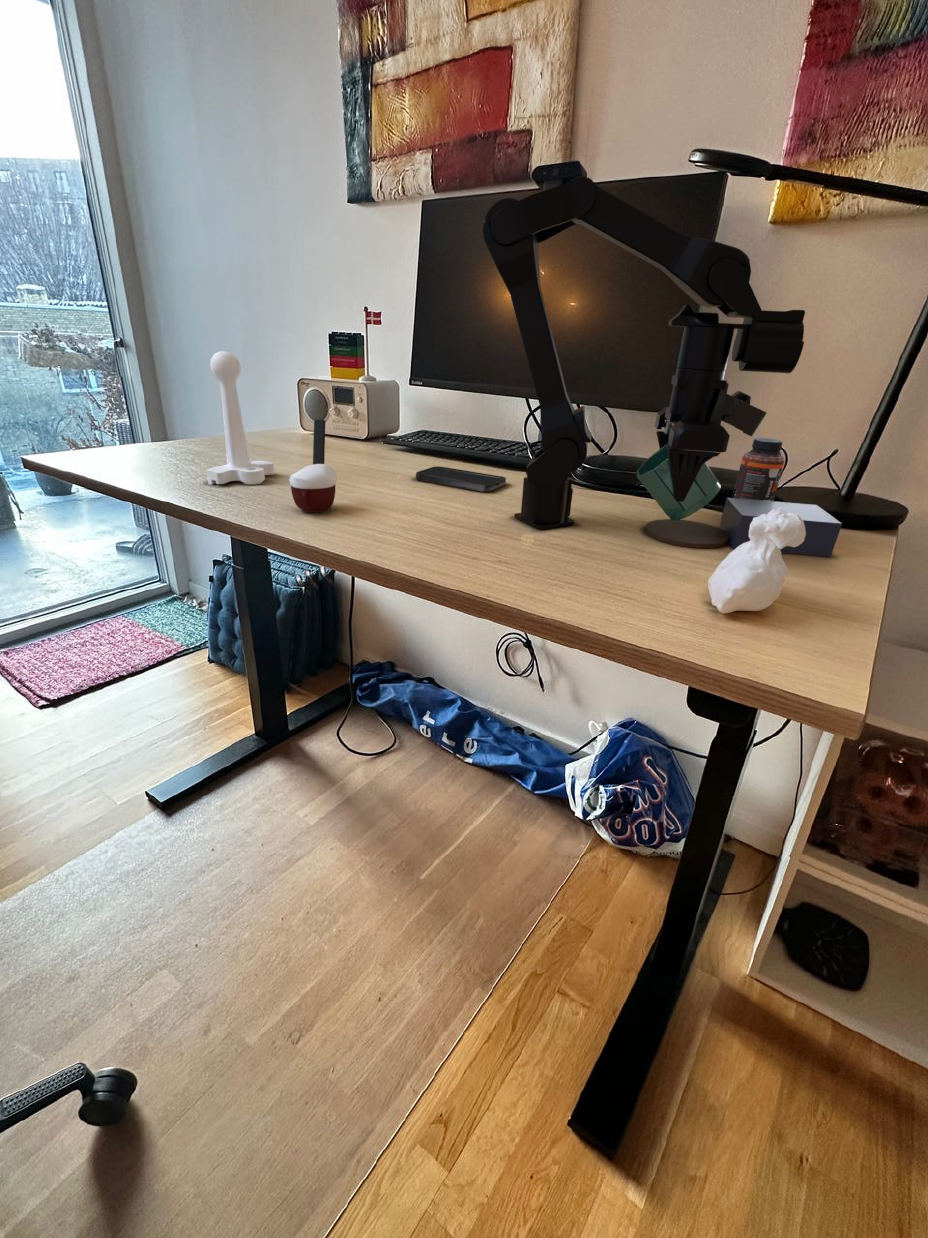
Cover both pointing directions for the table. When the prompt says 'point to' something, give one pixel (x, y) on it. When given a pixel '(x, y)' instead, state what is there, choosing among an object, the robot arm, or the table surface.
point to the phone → (461, 478)
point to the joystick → (234, 429)
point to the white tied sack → (756, 564)
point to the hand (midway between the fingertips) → (675, 493)
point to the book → (815, 519)
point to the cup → (661, 488)
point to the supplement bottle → (760, 471)
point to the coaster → (687, 533)
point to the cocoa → (315, 477)
